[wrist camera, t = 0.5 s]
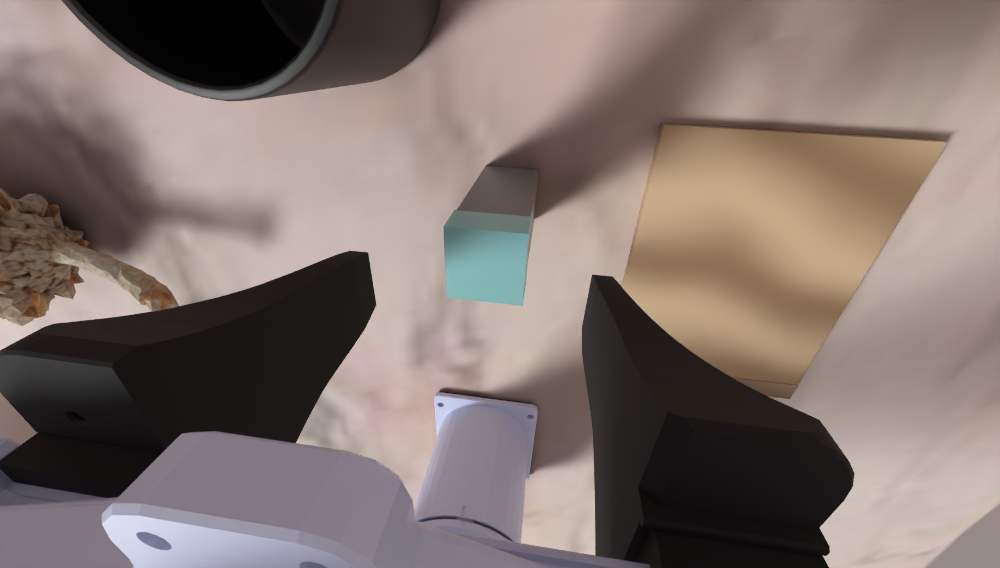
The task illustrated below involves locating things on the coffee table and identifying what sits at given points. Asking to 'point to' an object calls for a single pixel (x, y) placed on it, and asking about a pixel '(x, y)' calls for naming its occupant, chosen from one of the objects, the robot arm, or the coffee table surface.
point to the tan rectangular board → (765, 239)
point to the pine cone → (56, 262)
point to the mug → (261, 41)
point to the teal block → (492, 237)
